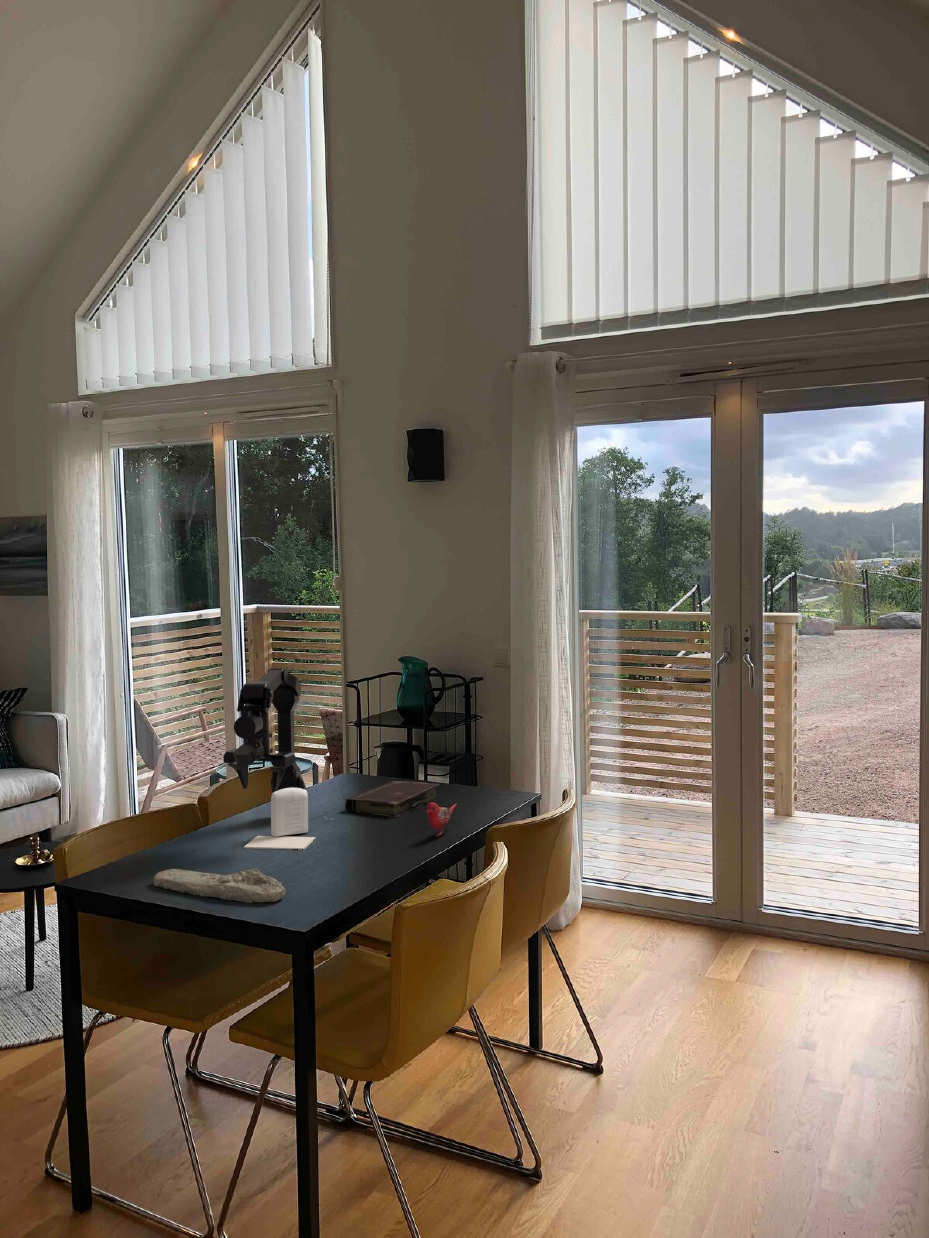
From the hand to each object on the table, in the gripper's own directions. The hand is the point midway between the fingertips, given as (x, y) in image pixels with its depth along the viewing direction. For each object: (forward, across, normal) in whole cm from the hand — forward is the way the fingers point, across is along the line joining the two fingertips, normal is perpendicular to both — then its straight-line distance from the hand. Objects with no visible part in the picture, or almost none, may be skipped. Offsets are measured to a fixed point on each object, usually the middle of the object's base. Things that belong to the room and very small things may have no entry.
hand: (260, 789), depth 263 cm
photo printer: (+14, +4, +8) cm, 16 cm away
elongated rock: (+14, +12, -37) cm, 41 cm away
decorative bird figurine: (+14, +43, +21) cm, 50 cm away
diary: (+15, +17, +46) cm, 51 cm away
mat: (+14, +5, 0) cm, 15 cm away
